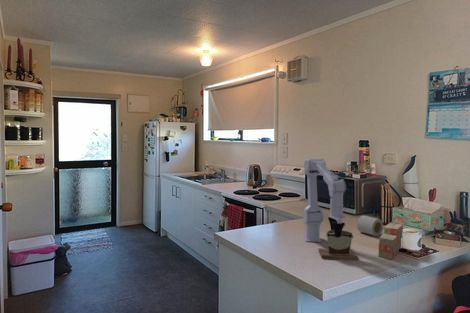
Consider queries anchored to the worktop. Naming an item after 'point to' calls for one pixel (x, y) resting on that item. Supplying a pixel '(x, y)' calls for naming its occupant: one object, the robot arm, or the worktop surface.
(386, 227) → the stack of blocks
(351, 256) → the walnut base
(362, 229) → the toilet paper
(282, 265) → the worktop surface
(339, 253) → the food container
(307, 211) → the robot arm
